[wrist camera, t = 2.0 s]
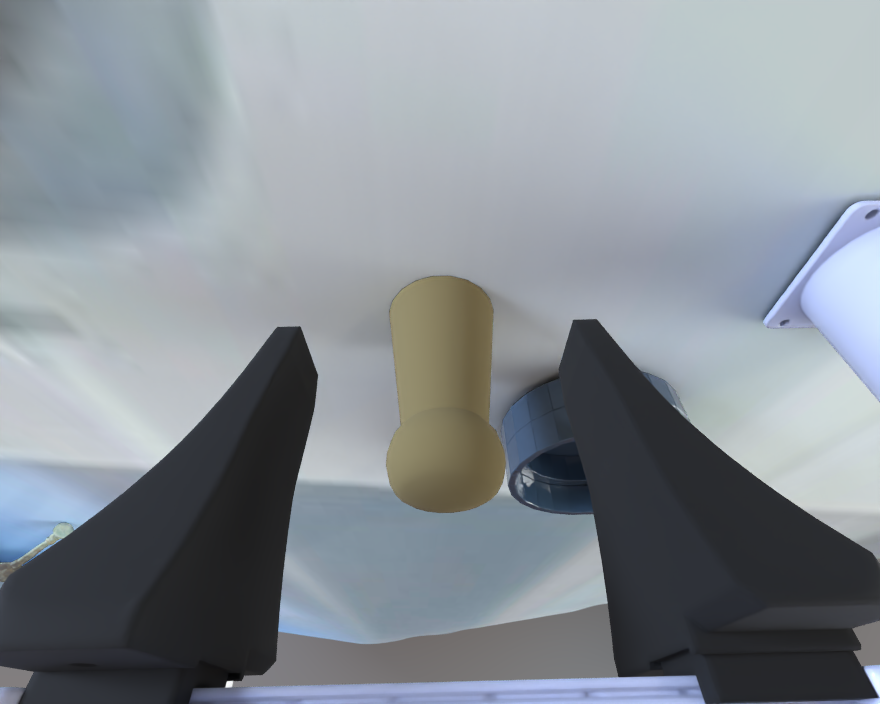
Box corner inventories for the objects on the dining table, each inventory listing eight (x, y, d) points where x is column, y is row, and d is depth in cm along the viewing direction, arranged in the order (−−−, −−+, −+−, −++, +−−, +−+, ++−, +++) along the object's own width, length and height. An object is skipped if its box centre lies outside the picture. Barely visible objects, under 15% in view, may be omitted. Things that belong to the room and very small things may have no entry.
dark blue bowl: (706, 360, 29) (743, 425, 25) (641, 456, 38) (661, 512, 35) (510, 365, 29) (521, 430, 25) (494, 460, 38) (500, 516, 35)
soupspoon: (-27, 552, 55) (35, 561, 59) (-45, 582, 53) (21, 589, 57) (33, 514, 45) (103, 529, 49) (13, 549, 43) (88, 561, 47)
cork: (505, 282, 23) (540, 471, 16) (480, 355, 28) (499, 530, 21) (393, 269, 23) (376, 462, 15) (386, 347, 27) (370, 525, 20)
